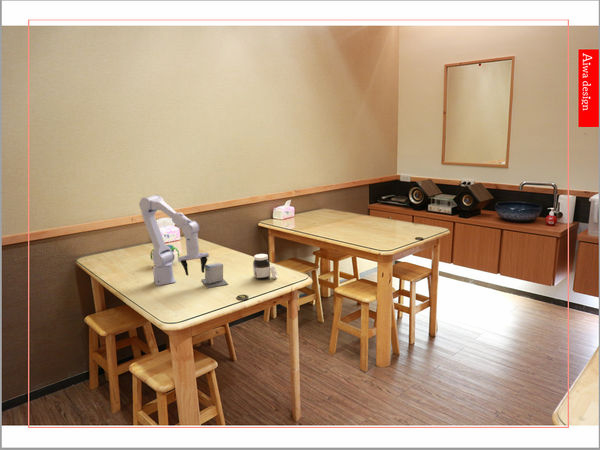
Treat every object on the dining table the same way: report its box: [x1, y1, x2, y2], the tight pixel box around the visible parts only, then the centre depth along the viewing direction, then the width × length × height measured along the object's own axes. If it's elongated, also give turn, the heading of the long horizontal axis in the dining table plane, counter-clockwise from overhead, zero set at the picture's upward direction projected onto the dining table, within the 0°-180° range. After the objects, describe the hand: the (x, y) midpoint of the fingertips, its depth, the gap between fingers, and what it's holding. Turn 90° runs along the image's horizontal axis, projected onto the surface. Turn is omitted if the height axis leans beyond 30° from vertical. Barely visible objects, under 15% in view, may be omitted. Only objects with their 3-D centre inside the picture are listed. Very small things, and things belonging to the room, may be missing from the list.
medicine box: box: [204, 262, 224, 283], centre depth 220 cm, size 8×4×9 cm, turn 135°
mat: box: [200, 278, 229, 289], centre depth 222 cm, size 10×13×1 cm
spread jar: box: [252, 253, 279, 281], centre depth 225 cm, size 12×11×12 cm
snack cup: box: [150, 244, 180, 261], centre depth 252 cm, size 16×10×10 cm
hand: (195, 273), depth 216 cm, fingers open, 7 cm apart
